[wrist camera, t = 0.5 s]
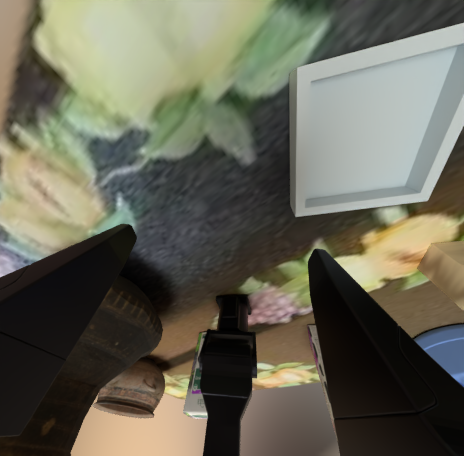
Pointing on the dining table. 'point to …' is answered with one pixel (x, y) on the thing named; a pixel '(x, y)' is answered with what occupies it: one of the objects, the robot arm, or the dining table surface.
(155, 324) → the ceramic pot
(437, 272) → the birch block
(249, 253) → the dining table surface
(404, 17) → the dining table surface
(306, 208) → the tray
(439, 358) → the water jug
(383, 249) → the dining table surface
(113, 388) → the cooking pot
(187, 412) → the syrup box
